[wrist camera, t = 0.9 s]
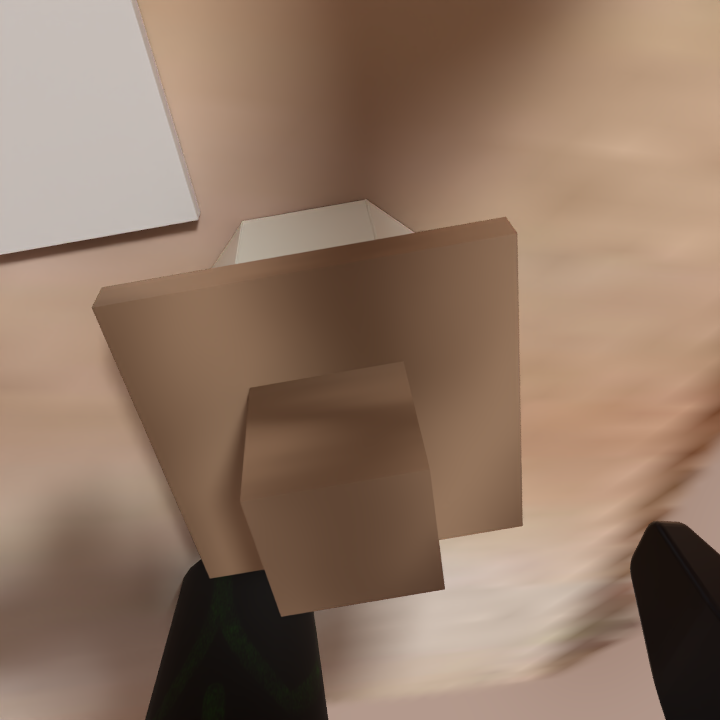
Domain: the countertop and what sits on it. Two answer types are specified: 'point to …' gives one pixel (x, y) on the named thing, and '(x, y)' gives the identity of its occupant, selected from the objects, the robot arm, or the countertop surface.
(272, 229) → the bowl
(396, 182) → the countertop surface
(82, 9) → the mat
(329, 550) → the lid
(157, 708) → the cup
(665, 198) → the countertop surface
